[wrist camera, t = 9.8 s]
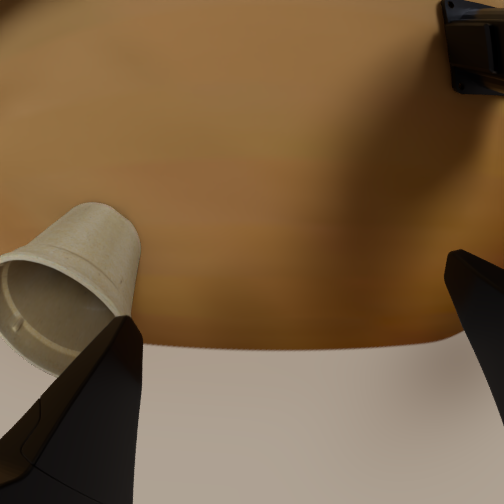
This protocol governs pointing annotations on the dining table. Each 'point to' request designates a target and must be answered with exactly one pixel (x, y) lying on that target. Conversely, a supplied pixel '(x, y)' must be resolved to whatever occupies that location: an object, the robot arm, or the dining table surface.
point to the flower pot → (68, 285)
